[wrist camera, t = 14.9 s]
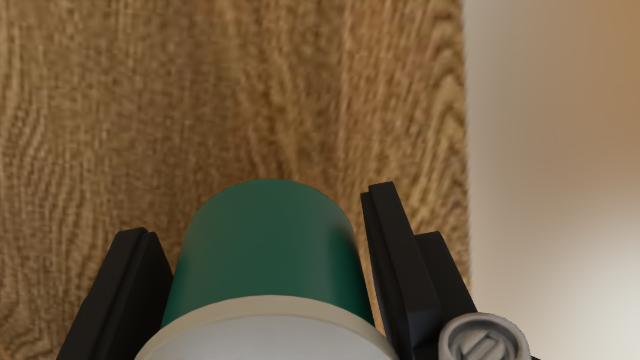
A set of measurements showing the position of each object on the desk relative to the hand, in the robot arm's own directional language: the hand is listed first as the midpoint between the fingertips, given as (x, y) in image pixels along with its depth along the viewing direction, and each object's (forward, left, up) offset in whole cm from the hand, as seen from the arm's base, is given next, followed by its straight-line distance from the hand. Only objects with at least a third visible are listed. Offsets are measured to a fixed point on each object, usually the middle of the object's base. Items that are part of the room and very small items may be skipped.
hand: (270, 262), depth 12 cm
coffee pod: (0, 0, 0) cm, 0 cm away
